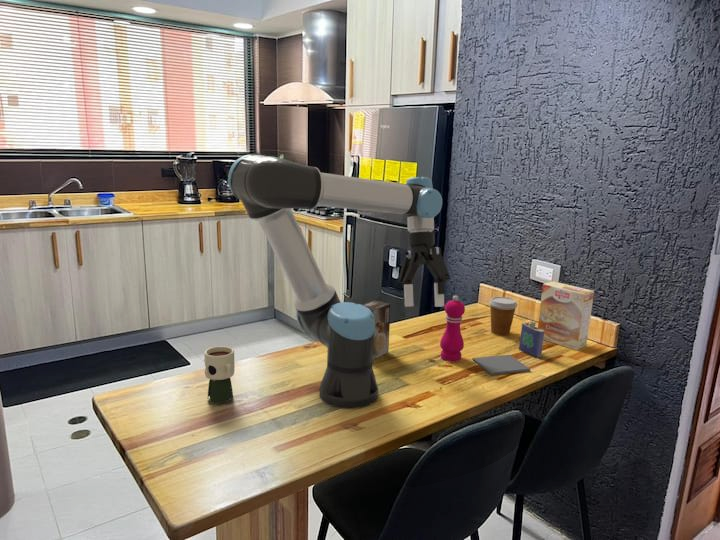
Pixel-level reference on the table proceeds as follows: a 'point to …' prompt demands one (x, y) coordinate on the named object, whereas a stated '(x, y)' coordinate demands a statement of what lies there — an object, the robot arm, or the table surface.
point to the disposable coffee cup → (502, 314)
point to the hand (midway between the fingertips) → (423, 306)
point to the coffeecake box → (565, 314)
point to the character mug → (219, 373)
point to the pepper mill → (453, 331)
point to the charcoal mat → (500, 364)
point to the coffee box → (380, 326)
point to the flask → (531, 339)
